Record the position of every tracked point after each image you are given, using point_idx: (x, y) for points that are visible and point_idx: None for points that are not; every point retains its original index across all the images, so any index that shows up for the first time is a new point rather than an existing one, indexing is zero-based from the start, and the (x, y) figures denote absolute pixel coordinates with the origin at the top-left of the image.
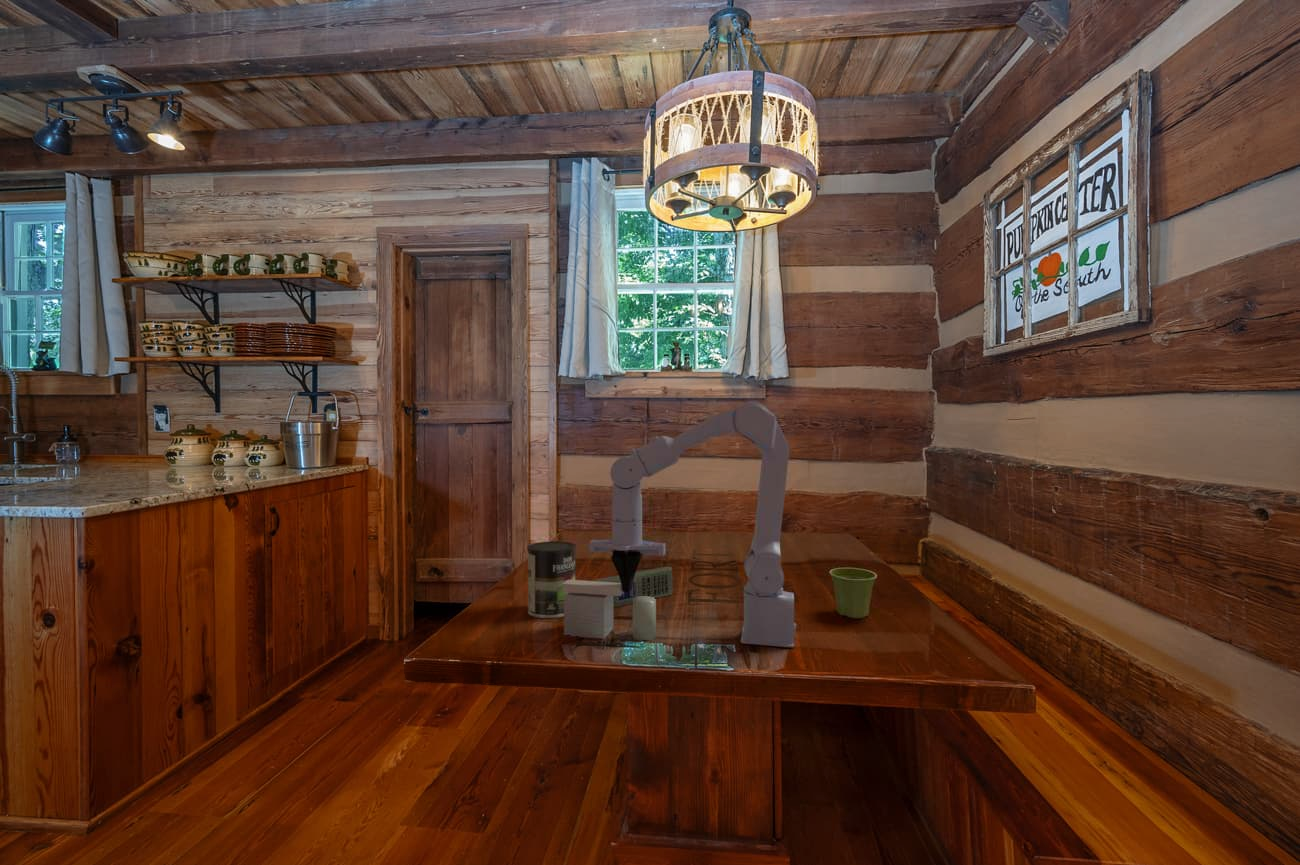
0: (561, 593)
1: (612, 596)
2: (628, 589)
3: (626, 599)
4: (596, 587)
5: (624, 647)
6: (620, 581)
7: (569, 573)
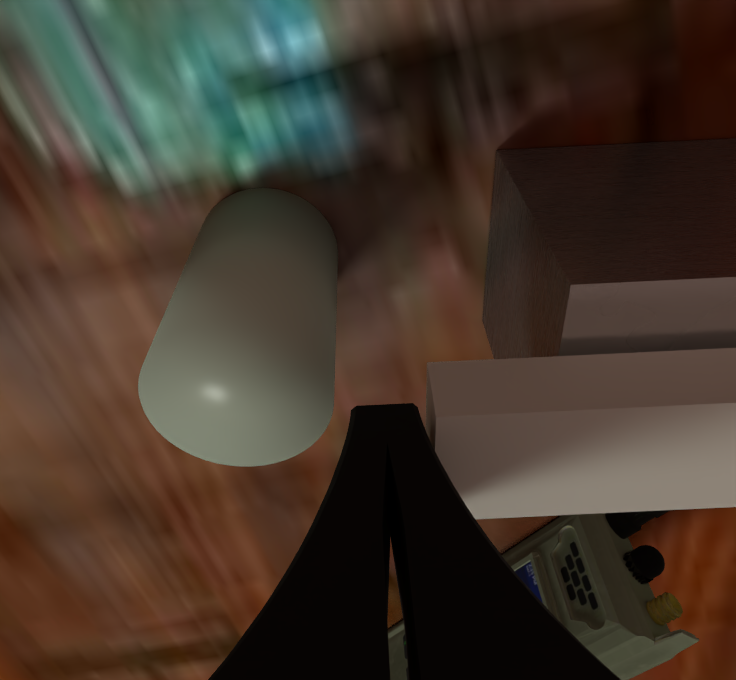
0: None
1: None
2: (356, 420)
3: None
4: (690, 394)
5: (323, 48)
6: None
7: None
